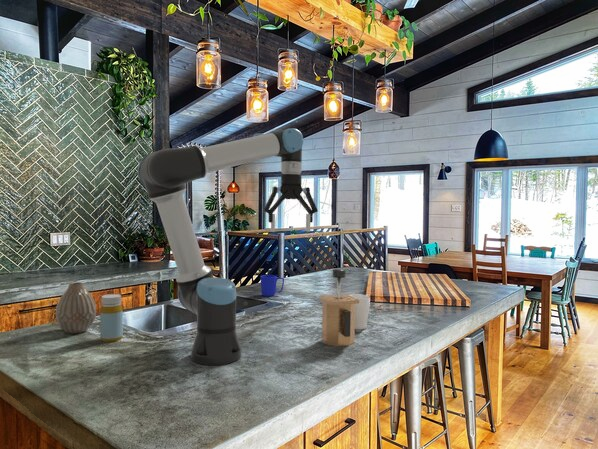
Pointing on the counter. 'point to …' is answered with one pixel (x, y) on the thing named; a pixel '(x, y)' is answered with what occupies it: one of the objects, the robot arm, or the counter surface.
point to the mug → (269, 285)
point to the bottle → (111, 318)
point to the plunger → (339, 279)
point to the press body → (338, 319)
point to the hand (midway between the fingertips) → (290, 231)
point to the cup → (361, 310)
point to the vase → (75, 309)
